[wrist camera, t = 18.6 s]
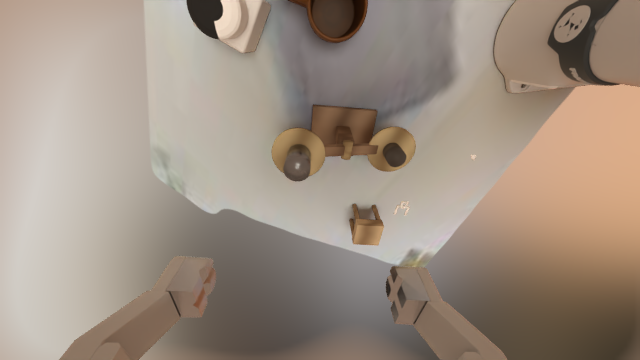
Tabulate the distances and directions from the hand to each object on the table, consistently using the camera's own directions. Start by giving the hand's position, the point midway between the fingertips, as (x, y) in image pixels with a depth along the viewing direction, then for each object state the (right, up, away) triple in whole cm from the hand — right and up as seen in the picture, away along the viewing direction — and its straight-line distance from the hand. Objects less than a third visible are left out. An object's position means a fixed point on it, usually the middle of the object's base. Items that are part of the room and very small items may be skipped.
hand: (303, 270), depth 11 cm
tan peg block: (+11, -4, +46) cm, 48 cm away
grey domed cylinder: (-2, +8, +24) cm, 25 cm away
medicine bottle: (-11, +30, +25) cm, 41 cm away
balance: (+5, +14, +35) cm, 38 cm away
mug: (+1, +31, +25) cm, 40 cm away
